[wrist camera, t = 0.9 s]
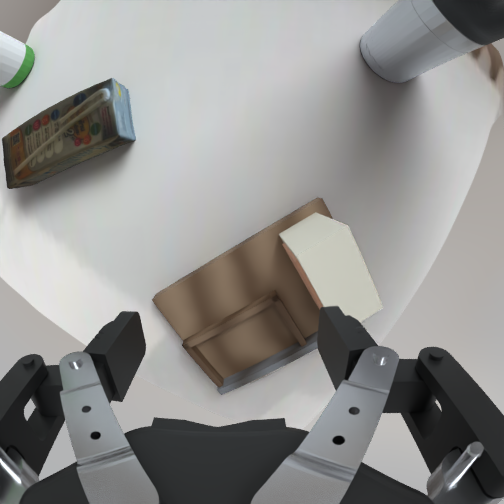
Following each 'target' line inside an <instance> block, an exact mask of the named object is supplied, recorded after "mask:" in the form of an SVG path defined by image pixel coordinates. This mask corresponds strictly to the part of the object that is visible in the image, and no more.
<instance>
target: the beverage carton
mask: <svg viewBox="0 0 504 504" xmlns="http://www.w3.org/2000/svg"><path fill="white" fill-rule="evenodd" d="M135 140H136V137H135V133H134V127H133V122H132V114H131V107H130V98H129V91H128V89H126V88H125V86H123V85H121V84H120V83H118V82H117V81H116V80H115V79H114V78H111V79H109V80H106V81H104V82H101V83H99V84H96V85H94V86H92V87H90V88H87V89H85V90H83V91H80V92H78V93H76V94H74V95H72V96H70V97H68V98H66V99H64V100H62V101H60V102H59V103H57V104H55V105H53V106H51V107H49V108H48V109H46V110H44V111H42V112H41V113H39V114H37V115H36V116H34V117H33V118H31V119H29V120H28V121H26V122H25V123H23V124H22V125H20V126H19V127H17V128H16V129H14V130H13V131H12V132H10V133H9V134H8V135H6V136H5V137H3V138H2V142H3V153H4V166H5V171H6V181H7V188H9V189H13V188H19V187H26V186H31V185H33V184H36V183H38V182H40V181H42V180H44V179H46V178H48V177H50V176H52V175H54V174H56V173H58V172H60V171H62V170H65V169H67V168H69V167H71V166H74V165H76V164H78V163H80V162H83V161H85V160H88V159H90V158H92V157H95V156H97V155H99V154H102V153H104V152H107V151H109V150H111V149H114V148H116V147H118V146H121V145H123V144H126V143H129V142H132V141H135Z"/></svg>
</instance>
